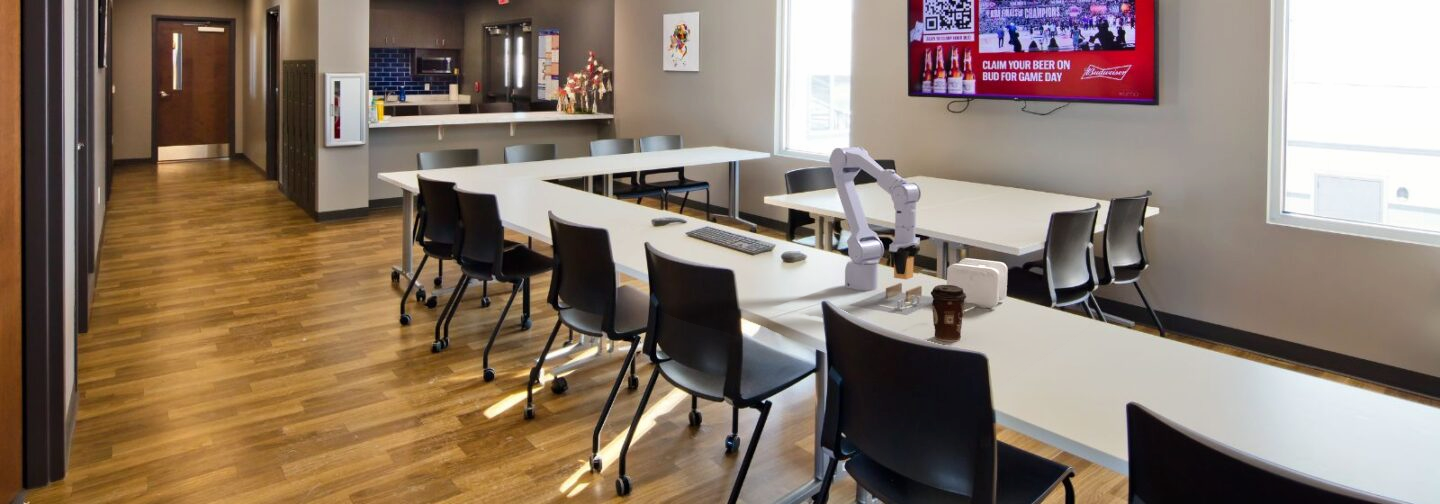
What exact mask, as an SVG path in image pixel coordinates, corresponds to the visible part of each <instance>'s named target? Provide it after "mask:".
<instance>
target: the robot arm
mask: <svg viewBox="0 0 1440 504" xmlns="http://www.w3.org/2000/svg"><path fill="white" fill-rule="evenodd" d="M828 161H829V162H828V163H829V165H830V168H831V171H832V174H833V182H834V184H835V188H836V190H837V193H838V196H839V199H840V202H841V205H842V209H843V212H844V214H845V218H846V221H847V223H848V224H847V225H848V227H849V231H850V233H851V234H850V236H849V238H848V239H847V241H846V244H847V249H848V251H847V253H848V256H849V259H850V260H849V261H847V263H846V265H845V268H844V288H847V289H852V290H853V289H854V290H856V291H864V292H865V291H866V292H869V291H876V290H877V289H878V288H879V287H878V286H879V284H878V283H879V280H878V279H879V278H878V277H879V262H880V261H881V258H882V257H883V256H884V252H885V248H884V244H883V242H882V240H880V238H879V235H878V233H877V232H875V231H874V230H872V229H871V228H869V223H868V221H867V218H866V215H865V212H864V209H863V206H862V203H861V200H860V198H859V194H858V191H857V188H856V185H855V182H854V179H855V178H856V176H857V175H858V174H859V172H860V171H861V170H863V171H864V172H865V173H867V174H868V175H870V176H871V177H873V178H874V179H876V183H877V185H878V186H879V188H881V189H883V191H885V192H886V193H887V194H889V195H890V196H891V197H890V198H891V200H892V202H893V208H894V210H895V213H894V214H895V216H894V217H895V221H894V240H893V242H891V243H890V244H889V248H888V250H889V254H890V256H891V257H892V260H893V263H894V264H895V268H896V272H897V274H904V273H905V267H906V261H907V257H908V256H912V257H914V261H913V266H914V265H915V261H916V258H917V256H918V254H919V252H920V250H921V247H920V246H918V245H920V244H921V243H920V242H921V237H917V236H916V224H917V223H916V222H917V221H916V220H917V219H916V218H917V217H916V216H917V203H918V202H919V201H920V199H921V195H922V191H921V189H920V187H919V185H918V184H917V183H916V182H908V181H907V179H905V178H902V177H901V176H900V175H898V174H897V173H896V170H894V169H890V168H887V169H884V168H883V167H882V166H881V165H880V164H879V163H877V161H875V160H874V159H873V158H872V157H871V156H870V155H869V152H868V151H867V150H866V149H864V148H863V147H862V146H859V145H857V146H853V147H837V148H834V149H833V150H832V152H831V154H830V157H829V160H828ZM894 264H893V265H894Z"/></svg>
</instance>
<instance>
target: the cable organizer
mask: <svg viewBox="0 0 1440 504" xmlns="http://www.w3.org/2000/svg"><path fill="white" fill-rule="evenodd" d="M1008 268H1009V267H1008V266H1007V265H1006V263H1004V262H1002V261H997V260H996V261H995V260H985V259H977V258H969V257H966V258H962V259H960V261H959V262H958V263H952V264H950V265H949V266H948V267H947V269H946V285H954V286H958V287H960V288H962V289H963V292H964V293H965V294H966V298H965V300H964V303H967V304H974V306H975V307H977V308H983V309H987V308H993V307H995V306H997V305H998V304H999V301H1002V300H1004V299H1006V297H1007V295H1008V294H1007V291H1008V287H1007V286H1008V273H1009V271H1008V270H1009V269H1008Z"/></svg>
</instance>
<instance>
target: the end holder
mask: <svg viewBox="0 0 1440 504" xmlns="http://www.w3.org/2000/svg"><path fill="white" fill-rule="evenodd" d="M902 288H903V283H902V282H899V283H896V284H893V285H891V286H889V287H885V291H886V298H887V299H889V298H891V297H894V296H896V295H899V294H901V293H903V289H902ZM922 290H923V289H922V285H919V286H915V287H913V288H911V289H908V290H906V291H905V293H906V302H909V301H911V300H912V295H915V299H916V298H917V296H920V297H921V295H922Z"/></svg>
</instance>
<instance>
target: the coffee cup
mask: <svg viewBox="0 0 1440 504" xmlns="http://www.w3.org/2000/svg"><path fill="white" fill-rule="evenodd" d="M930 295H931V297H933V302H932V304H931V309H932V310H931V311H932V319H933V320H932V321H933V322H932V323H933V327H934V338H935V339H936V340H938V341H942V342H947V343H954V341H955V342H958V341H957V340H959V341H961V338H962V336H961V335H962V334H961V333H962V325H963V318H964V317H963V316H964V309H965V302H964V300H965V298H966V294H965V293H964V292H963V289H962V288H960V287H958V286H954V285H947V284H938V285H936V286H934V287H933V288H932V291H930Z"/></svg>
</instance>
